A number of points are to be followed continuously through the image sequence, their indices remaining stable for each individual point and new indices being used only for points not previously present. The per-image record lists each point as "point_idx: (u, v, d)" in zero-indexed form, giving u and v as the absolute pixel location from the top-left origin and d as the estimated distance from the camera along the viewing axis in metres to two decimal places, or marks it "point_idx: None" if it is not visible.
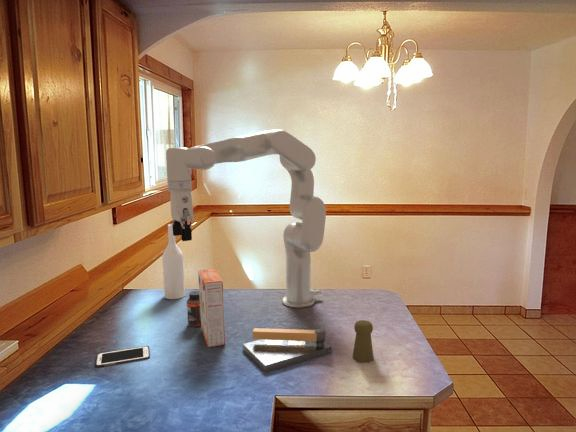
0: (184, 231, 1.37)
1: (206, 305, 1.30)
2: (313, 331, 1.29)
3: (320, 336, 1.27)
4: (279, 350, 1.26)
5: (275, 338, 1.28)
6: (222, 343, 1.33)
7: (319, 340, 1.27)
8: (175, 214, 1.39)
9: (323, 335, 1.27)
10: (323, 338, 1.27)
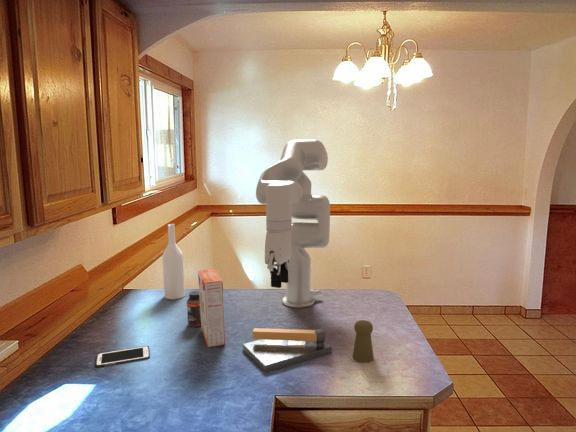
0: None
1: (206, 305, 1.30)
2: (313, 331, 1.29)
3: (320, 336, 1.27)
4: (279, 350, 1.26)
5: (275, 338, 1.28)
6: (222, 343, 1.33)
7: (319, 340, 1.27)
8: (288, 254, 1.30)
9: (323, 335, 1.27)
10: (323, 338, 1.27)
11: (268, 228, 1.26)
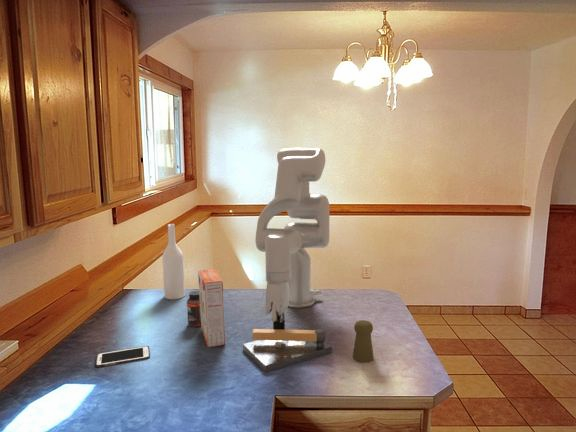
0: None
1: (206, 305, 1.30)
2: (313, 331, 1.28)
3: (320, 336, 1.27)
4: (279, 350, 1.26)
5: (275, 339, 1.28)
6: (222, 343, 1.33)
7: (319, 340, 1.27)
8: (287, 302, 1.32)
9: (323, 335, 1.27)
10: (323, 338, 1.27)
11: (268, 279, 1.27)
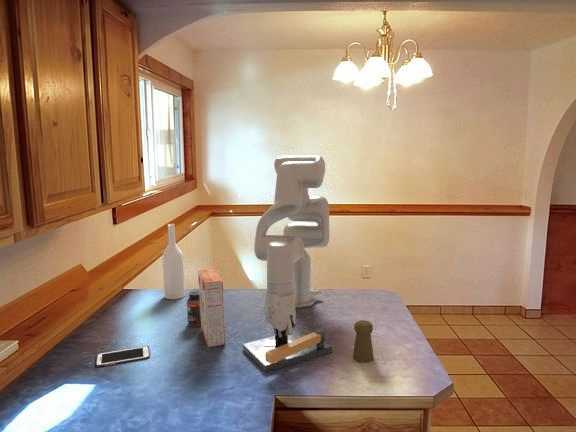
0: None
1: (206, 305, 1.30)
2: (314, 333, 1.27)
3: (324, 335, 1.27)
4: None
5: (289, 354, 1.19)
6: (222, 343, 1.33)
7: (323, 340, 1.27)
8: None
9: (325, 333, 1.28)
10: (325, 336, 1.28)
11: (280, 292, 1.16)
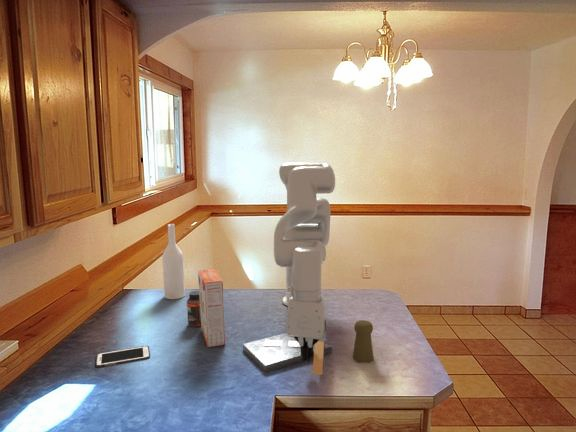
0: None
1: (206, 305, 1.30)
2: None
3: None
4: (279, 350, 1.26)
5: None
6: (222, 343, 1.33)
7: None
8: None
9: None
10: None
11: (316, 299, 1.11)
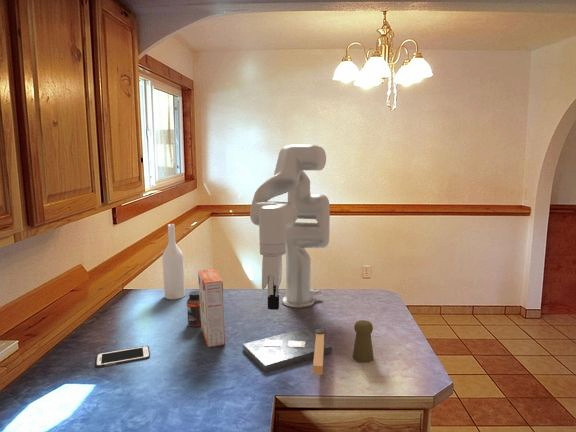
0: None
1: (206, 305, 1.30)
2: (319, 334, 1.26)
3: None
4: (279, 350, 1.26)
5: None
6: (222, 343, 1.33)
7: (325, 338, 1.28)
8: (281, 276, 1.28)
9: None
10: None
11: (264, 252, 1.22)
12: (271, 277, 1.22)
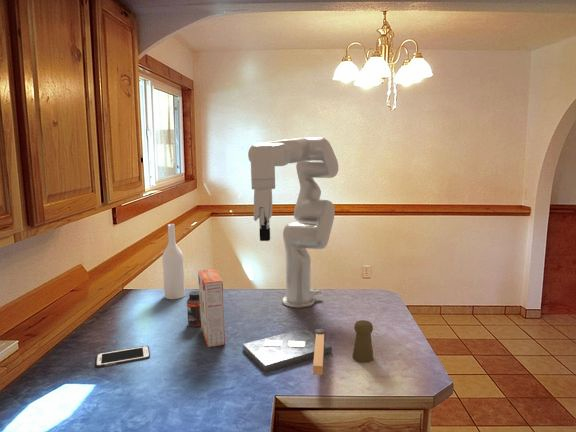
0: None
1: (206, 305, 1.30)
2: (319, 334, 1.26)
3: None
4: (279, 350, 1.26)
5: None
6: (222, 343, 1.33)
7: (325, 338, 1.28)
8: (271, 210, 1.40)
9: None
10: None
11: (255, 186, 1.34)
12: (262, 209, 1.34)
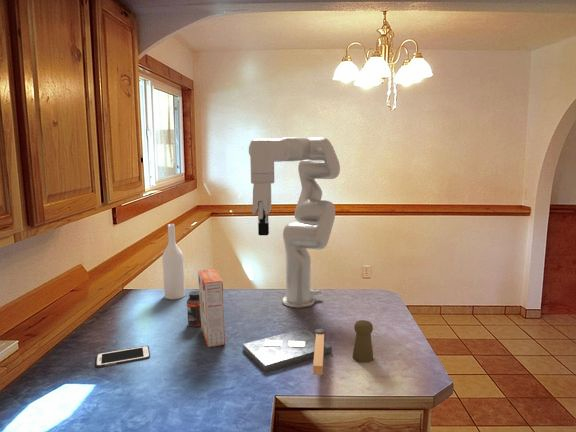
0: None
1: (206, 305, 1.30)
2: (319, 334, 1.26)
3: None
4: (279, 350, 1.26)
5: None
6: (222, 343, 1.33)
7: (325, 338, 1.28)
8: (270, 205, 1.41)
9: None
10: None
11: (254, 180, 1.35)
12: (261, 203, 1.35)
